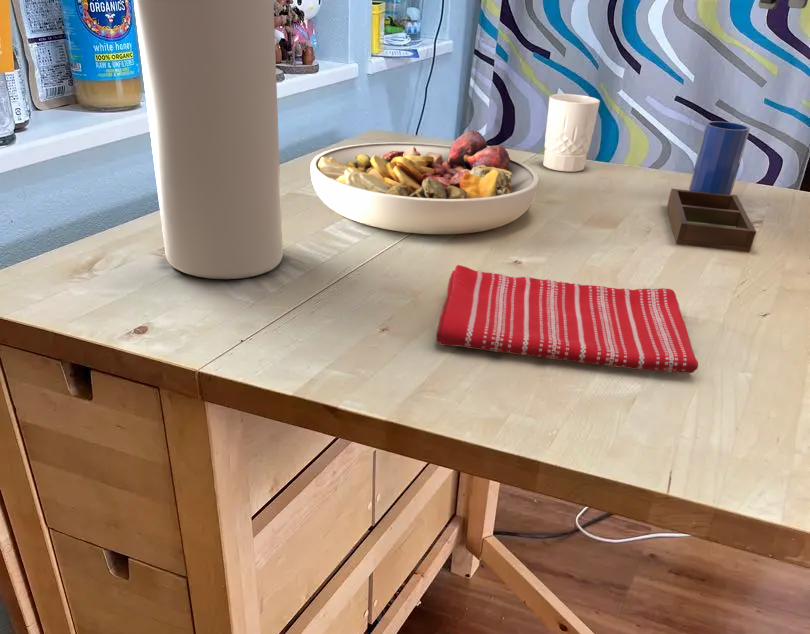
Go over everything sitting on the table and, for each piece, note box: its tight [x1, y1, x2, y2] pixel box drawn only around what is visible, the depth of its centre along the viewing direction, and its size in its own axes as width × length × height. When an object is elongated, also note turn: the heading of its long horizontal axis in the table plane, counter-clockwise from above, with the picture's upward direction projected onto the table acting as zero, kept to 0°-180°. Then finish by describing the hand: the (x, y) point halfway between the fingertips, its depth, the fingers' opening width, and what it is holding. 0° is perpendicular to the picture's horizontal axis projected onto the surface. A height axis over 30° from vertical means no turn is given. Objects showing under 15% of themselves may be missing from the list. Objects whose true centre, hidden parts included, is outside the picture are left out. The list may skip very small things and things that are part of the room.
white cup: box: [542, 93, 601, 173], centre depth 129 cm, size 8×8×10 cm
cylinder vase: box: [133, 0, 284, 280], centre depth 81 cm, size 12×12×25 cm
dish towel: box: [436, 264, 699, 374], centre depth 78 cm, size 17×24×3 cm
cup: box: [688, 120, 751, 195], centre depth 118 cm, size 6×6×10 cm
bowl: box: [310, 130, 540, 235], centre depth 107 cm, size 30×30×8 cm
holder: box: [666, 188, 757, 253], centre depth 108 cm, size 9×17×3 cm, turn 169°
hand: (782, 8), depth 104 cm, fingers open, 8 cm apart
